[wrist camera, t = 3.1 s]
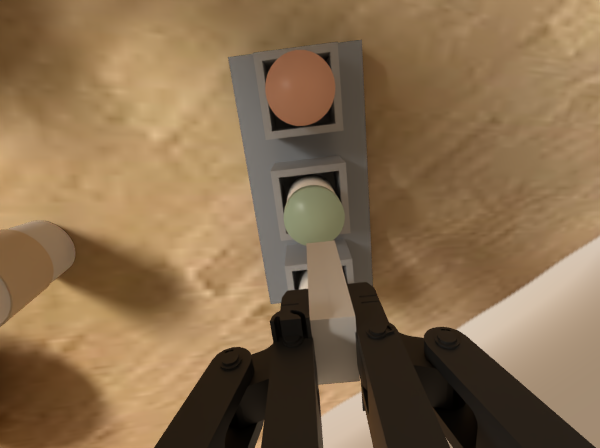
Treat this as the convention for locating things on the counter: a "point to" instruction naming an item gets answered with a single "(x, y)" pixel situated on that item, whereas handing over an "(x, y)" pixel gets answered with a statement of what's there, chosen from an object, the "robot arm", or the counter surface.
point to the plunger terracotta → (300, 87)
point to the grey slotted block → (306, 162)
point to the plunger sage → (313, 210)
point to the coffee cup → (30, 263)
